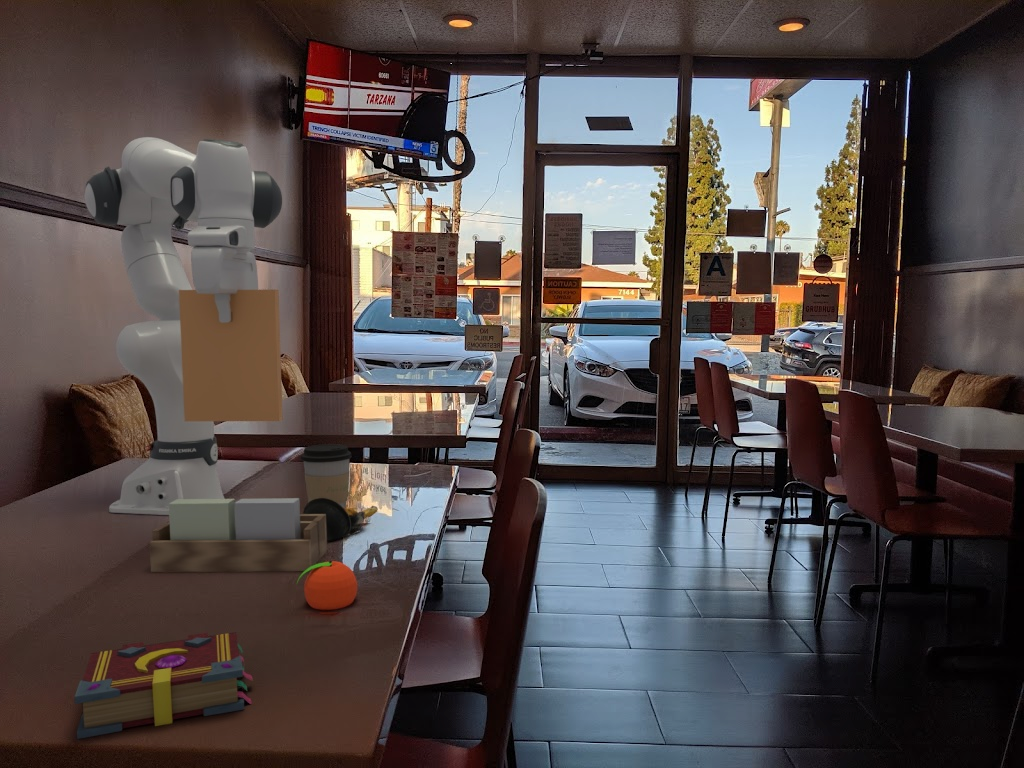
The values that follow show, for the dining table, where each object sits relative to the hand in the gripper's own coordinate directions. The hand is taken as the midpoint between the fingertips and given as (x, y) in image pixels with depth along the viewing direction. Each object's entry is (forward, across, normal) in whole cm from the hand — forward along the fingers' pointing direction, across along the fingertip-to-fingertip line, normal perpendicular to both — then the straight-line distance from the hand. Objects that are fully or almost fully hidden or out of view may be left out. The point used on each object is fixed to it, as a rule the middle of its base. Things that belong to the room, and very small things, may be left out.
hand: (229, 322), depth 136 cm
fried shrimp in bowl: (+39, -5, +17) cm, 43 cm away
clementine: (+38, +31, +23) cm, 55 cm away
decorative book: (+38, +55, +13) cm, 68 cm away
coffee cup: (+39, -14, +12) cm, 43 cm away
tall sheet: (+17, 0, 0) cm, 17 cm away
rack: (+38, +13, +5) cm, 41 cm away
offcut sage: (+37, +15, 0) cm, 40 cm away
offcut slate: (+37, +15, +10) cm, 41 cm away
